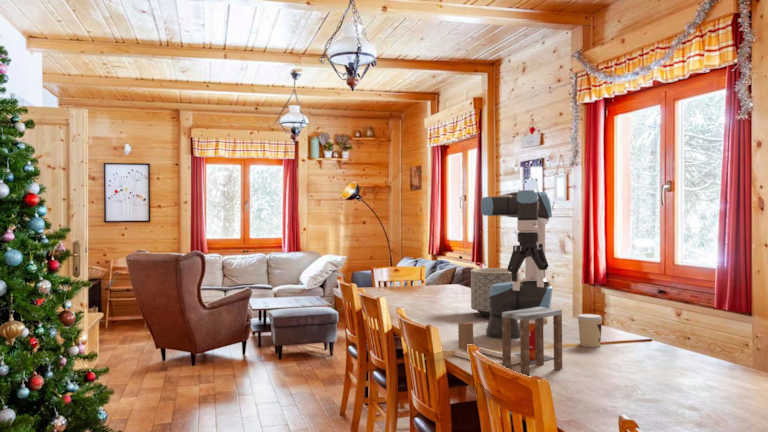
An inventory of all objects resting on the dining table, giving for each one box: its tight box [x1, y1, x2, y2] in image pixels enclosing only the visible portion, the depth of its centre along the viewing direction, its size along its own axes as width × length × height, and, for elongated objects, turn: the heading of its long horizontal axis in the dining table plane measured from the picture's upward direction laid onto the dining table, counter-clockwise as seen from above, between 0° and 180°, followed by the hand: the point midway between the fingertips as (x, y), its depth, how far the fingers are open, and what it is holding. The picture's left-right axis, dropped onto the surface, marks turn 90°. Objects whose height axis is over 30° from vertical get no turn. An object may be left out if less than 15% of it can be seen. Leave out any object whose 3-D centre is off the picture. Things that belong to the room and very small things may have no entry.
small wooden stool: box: [501, 307, 563, 376], centre depth 204 cm, size 10×19×20 cm, turn 126°
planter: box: [470, 267, 520, 318], centre depth 314 cm, size 25×25×24 cm
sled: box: [452, 321, 521, 366], centre depth 222 cm, size 25×12×12 cm, turn 36°
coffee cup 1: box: [529, 319, 536, 360], centre depth 221 cm, size 8×8×15 cm
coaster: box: [513, 352, 554, 366], centre depth 222 cm, size 13×13×1 cm
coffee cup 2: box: [577, 313, 603, 348], centre depth 242 cm, size 9×9×12 cm
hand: (528, 288), depth 222 cm, fingers open, 13 cm apart
